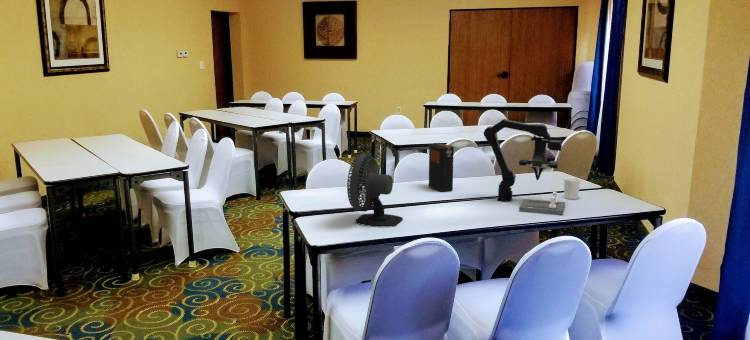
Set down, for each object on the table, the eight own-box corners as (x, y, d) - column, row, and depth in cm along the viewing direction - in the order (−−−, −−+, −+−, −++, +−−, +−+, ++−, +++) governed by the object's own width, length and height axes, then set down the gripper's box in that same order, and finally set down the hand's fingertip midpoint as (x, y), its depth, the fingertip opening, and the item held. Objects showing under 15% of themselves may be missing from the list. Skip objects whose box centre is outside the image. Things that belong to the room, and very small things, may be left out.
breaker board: (519, 211, 289) (519, 207, 288) (523, 202, 305) (523, 198, 305) (562, 215, 282) (562, 210, 281) (564, 205, 298) (565, 201, 298)
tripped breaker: (550, 202, 295) (551, 193, 294) (551, 201, 298) (551, 191, 297) (557, 203, 294) (557, 193, 293) (557, 201, 297) (558, 191, 296)
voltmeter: (454, 191, 329) (455, 146, 324) (441, 192, 326) (441, 147, 321) (439, 185, 343) (440, 142, 338) (426, 186, 340) (427, 143, 335)
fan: (379, 209, 292) (379, 149, 286) (411, 223, 270) (412, 157, 264) (332, 218, 278) (331, 154, 272) (362, 232, 256) (361, 163, 250)
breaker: (548, 207, 286) (549, 197, 285) (549, 206, 289) (550, 195, 288) (555, 208, 285) (556, 198, 284) (555, 206, 288) (556, 196, 287)
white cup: (579, 200, 310) (581, 181, 308) (563, 199, 311) (565, 180, 309) (577, 196, 317) (579, 178, 315) (562, 195, 319) (563, 177, 317)
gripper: (518, 150, 297) (516, 181, 300) (557, 153, 290) (554, 185, 293) (521, 147, 307) (519, 177, 310) (559, 150, 300) (557, 180, 303)
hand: (537, 180), depth 304 cm, fingers closed
